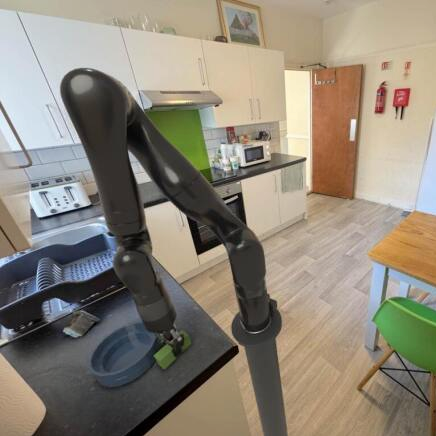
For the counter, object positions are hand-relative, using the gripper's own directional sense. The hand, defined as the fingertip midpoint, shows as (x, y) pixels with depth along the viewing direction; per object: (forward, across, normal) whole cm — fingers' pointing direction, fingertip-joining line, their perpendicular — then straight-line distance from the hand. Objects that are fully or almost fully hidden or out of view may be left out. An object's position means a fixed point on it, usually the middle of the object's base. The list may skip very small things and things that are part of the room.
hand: (174, 351), depth 68 cm
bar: (+1, 0, 0) cm, 1 cm away
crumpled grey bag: (+2, +38, +11) cm, 39 cm away
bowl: (+1, +11, +7) cm, 13 cm away
